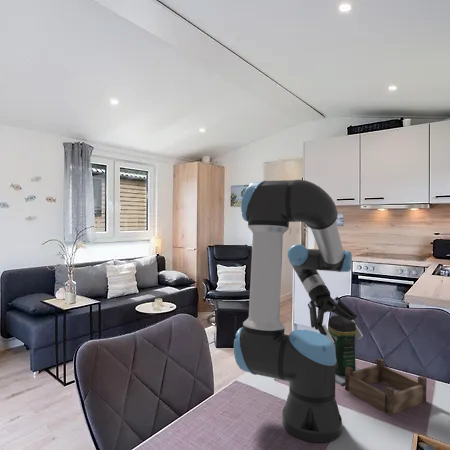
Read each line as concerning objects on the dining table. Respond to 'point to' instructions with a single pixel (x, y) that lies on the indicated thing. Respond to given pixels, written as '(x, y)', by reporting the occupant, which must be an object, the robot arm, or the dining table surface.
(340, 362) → the coffee jar
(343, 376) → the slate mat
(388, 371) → the wooden fruit crate
